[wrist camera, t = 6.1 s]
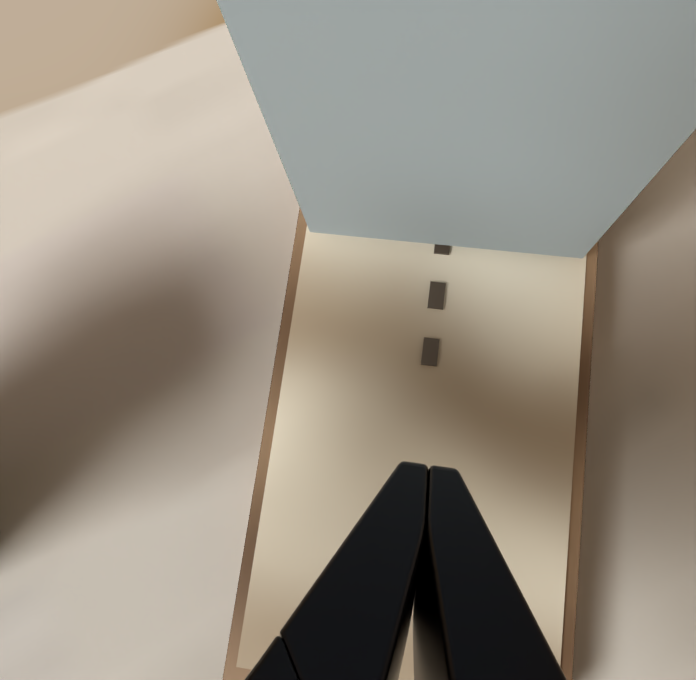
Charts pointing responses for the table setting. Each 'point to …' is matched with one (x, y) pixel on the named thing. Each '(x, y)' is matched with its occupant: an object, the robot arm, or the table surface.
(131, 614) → the table surface
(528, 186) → the grey tall block
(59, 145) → the table surface
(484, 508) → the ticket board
